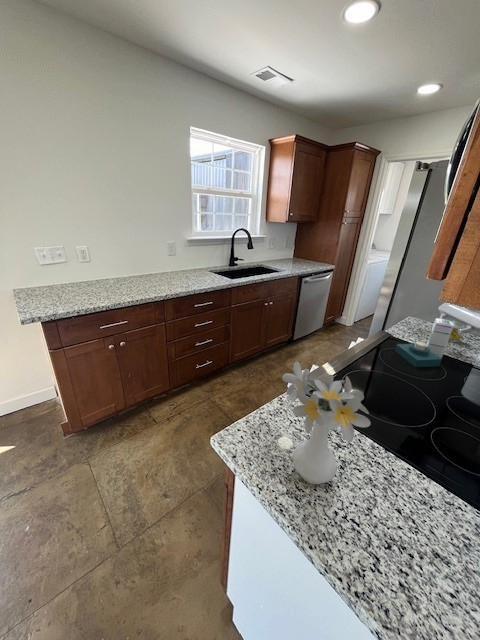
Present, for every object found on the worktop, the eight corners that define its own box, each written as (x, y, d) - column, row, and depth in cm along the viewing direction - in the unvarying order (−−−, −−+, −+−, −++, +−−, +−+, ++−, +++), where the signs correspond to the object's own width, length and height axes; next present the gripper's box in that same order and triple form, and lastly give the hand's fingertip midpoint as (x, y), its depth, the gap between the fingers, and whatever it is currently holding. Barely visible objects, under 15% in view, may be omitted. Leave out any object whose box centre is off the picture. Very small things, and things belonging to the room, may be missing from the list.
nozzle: (427, 350, 102) (428, 345, 101) (418, 350, 101) (420, 346, 100) (420, 345, 105) (421, 341, 104) (411, 346, 104) (413, 341, 104)
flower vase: (295, 430, 69) (308, 347, 59) (362, 484, 57) (393, 390, 46) (259, 457, 62) (267, 367, 52) (327, 526, 49) (355, 425, 39)
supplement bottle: (461, 341, 120) (470, 322, 116) (454, 343, 118) (462, 323, 114) (449, 336, 124) (456, 317, 120) (442, 337, 122) (449, 318, 118)
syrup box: (441, 358, 105) (455, 325, 99) (424, 354, 108) (436, 322, 102) (441, 352, 110) (453, 320, 104) (424, 348, 112) (435, 317, 107)
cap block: (439, 366, 100) (443, 355, 98) (415, 367, 99) (419, 355, 97) (416, 350, 111) (420, 339, 109) (394, 350, 110) (397, 340, 108)
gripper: (453, 291, 110) (424, 312, 113) (503, 309, 92) (467, 335, 94) (459, 301, 112) (430, 322, 115) (508, 321, 94) (473, 345, 97)
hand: (447, 328), depth 105 cm, fingers open, 8 cm apart
